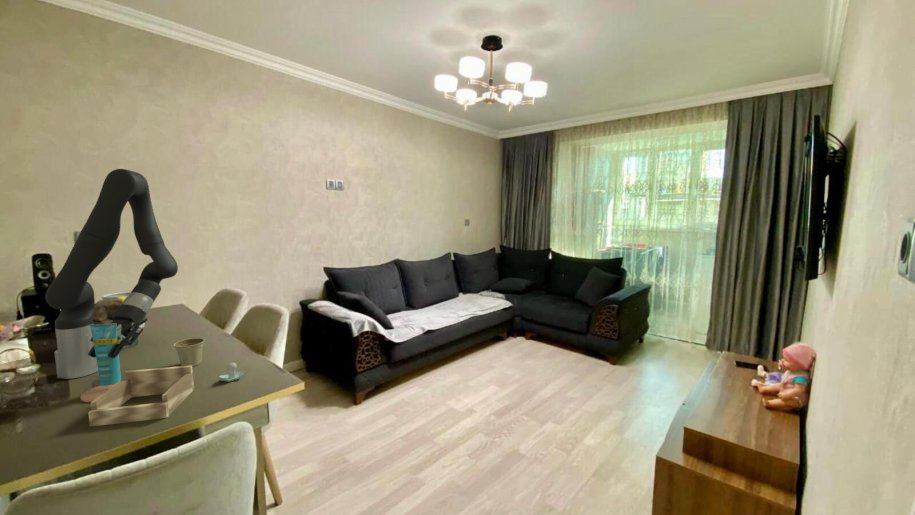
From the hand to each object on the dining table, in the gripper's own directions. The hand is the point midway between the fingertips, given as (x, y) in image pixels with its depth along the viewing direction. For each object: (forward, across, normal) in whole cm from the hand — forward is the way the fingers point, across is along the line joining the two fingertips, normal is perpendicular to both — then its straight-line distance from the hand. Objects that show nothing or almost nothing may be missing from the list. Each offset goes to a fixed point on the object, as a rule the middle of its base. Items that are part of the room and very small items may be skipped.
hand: (101, 356), depth 114 cm
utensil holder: (-35, -60, +52) cm, 87 cm away
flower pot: (-8, +7, +26) cm, 29 cm away
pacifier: (-1, +31, +19) cm, 37 cm away
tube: (+5, 0, +8) cm, 10 cm away
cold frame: (+12, +19, +5) cm, 24 cm away
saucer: (+8, 0, +10) cm, 12 cm away
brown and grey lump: (-17, -40, +35) cm, 56 cm away
